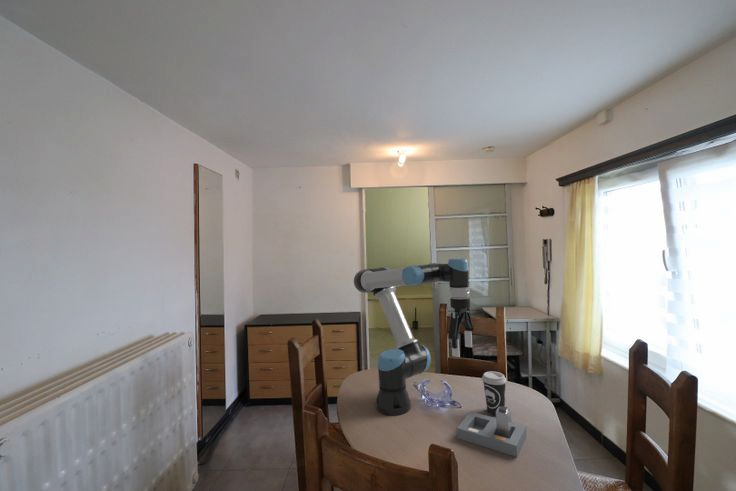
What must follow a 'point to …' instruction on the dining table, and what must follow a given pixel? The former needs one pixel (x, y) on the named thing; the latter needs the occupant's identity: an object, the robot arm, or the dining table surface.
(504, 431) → the plug
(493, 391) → the coffee cup
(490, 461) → the dining table surface
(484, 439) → the socket board
